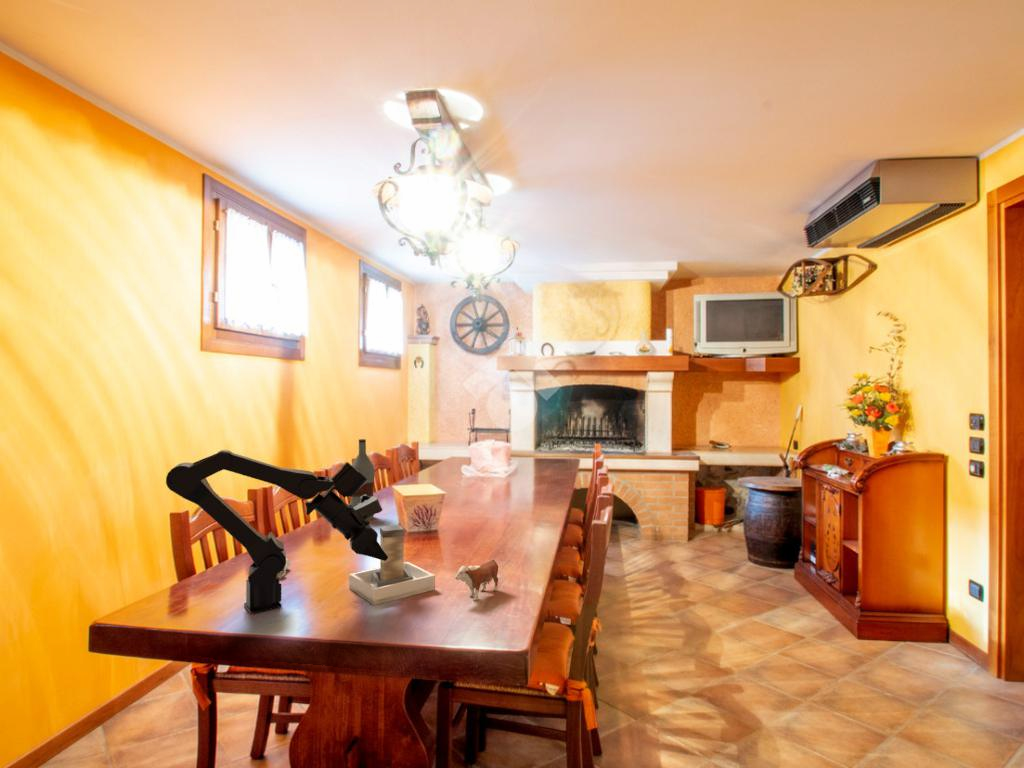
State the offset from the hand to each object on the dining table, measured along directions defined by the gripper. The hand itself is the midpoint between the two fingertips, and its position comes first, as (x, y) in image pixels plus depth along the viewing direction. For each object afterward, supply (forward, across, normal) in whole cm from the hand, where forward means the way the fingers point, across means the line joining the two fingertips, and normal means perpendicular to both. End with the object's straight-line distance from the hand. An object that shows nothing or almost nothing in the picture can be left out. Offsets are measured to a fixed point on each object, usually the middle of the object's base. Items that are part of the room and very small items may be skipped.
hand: (383, 554), depth 139 cm
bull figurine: (+21, -12, -8) cm, 26 cm away
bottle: (+11, +80, +2) cm, 81 cm away
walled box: (+8, 0, +5) cm, 9 cm away
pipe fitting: (-10, +24, +23) cm, 35 cm away
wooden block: (+7, 0, +4) cm, 8 cm away
